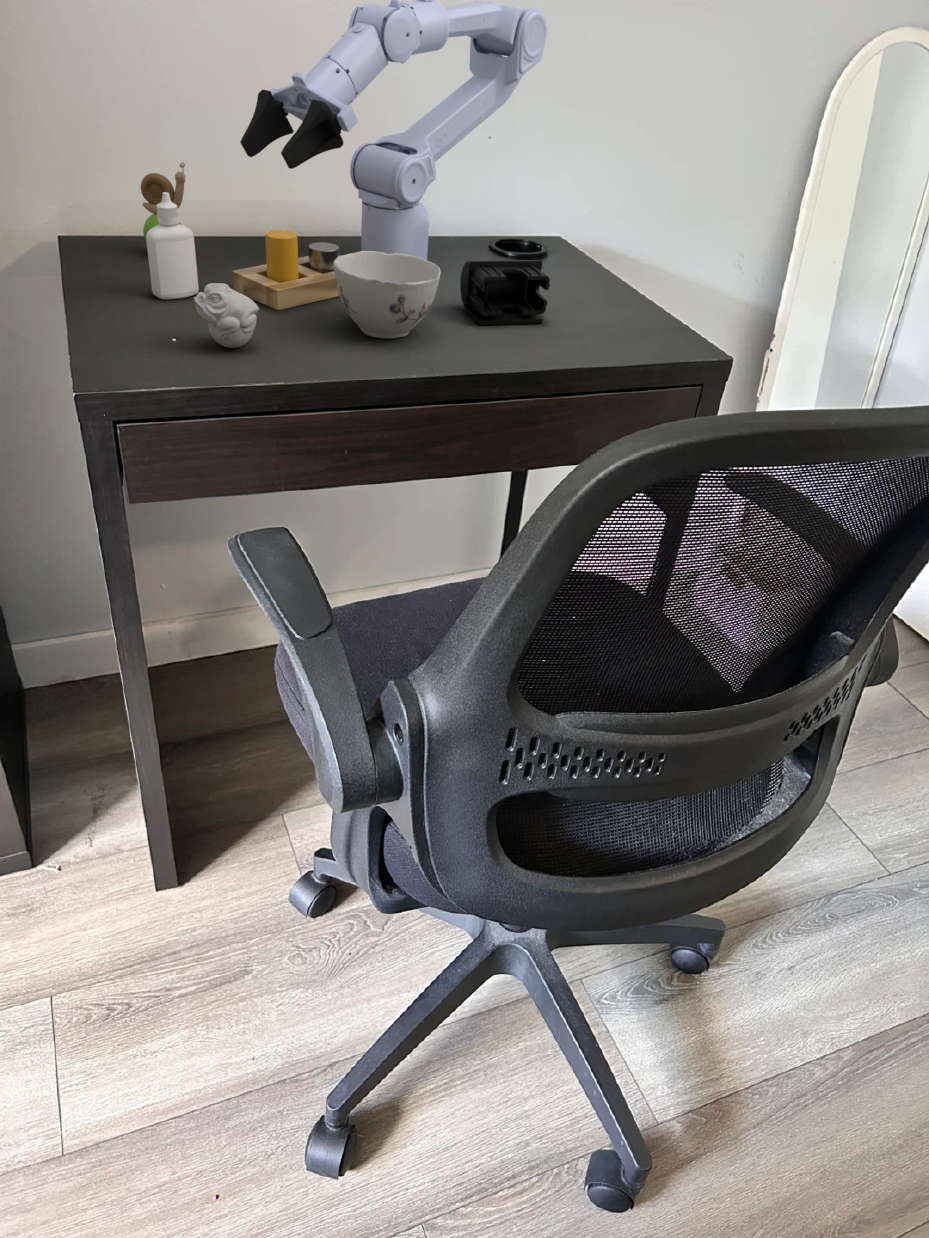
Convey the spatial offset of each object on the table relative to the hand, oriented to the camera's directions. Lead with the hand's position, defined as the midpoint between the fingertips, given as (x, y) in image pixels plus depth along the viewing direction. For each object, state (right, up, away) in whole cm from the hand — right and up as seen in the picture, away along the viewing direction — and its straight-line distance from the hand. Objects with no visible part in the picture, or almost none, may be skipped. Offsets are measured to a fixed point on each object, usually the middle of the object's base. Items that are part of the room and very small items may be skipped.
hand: (265, 155), depth 109 cm
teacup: (+13, -20, +4) cm, 24 cm away
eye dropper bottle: (-13, -14, +7) cm, 21 cm away
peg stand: (+2, -11, +13) cm, 17 cm away
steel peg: (+5, -10, +15) cm, 19 cm away
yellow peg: (0, -13, +11) cm, 17 cm away
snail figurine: (-18, -4, +20) cm, 27 cm away
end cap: (+29, -16, +11) cm, 34 cm away
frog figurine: (-3, -25, -5) cm, 25 cm away
